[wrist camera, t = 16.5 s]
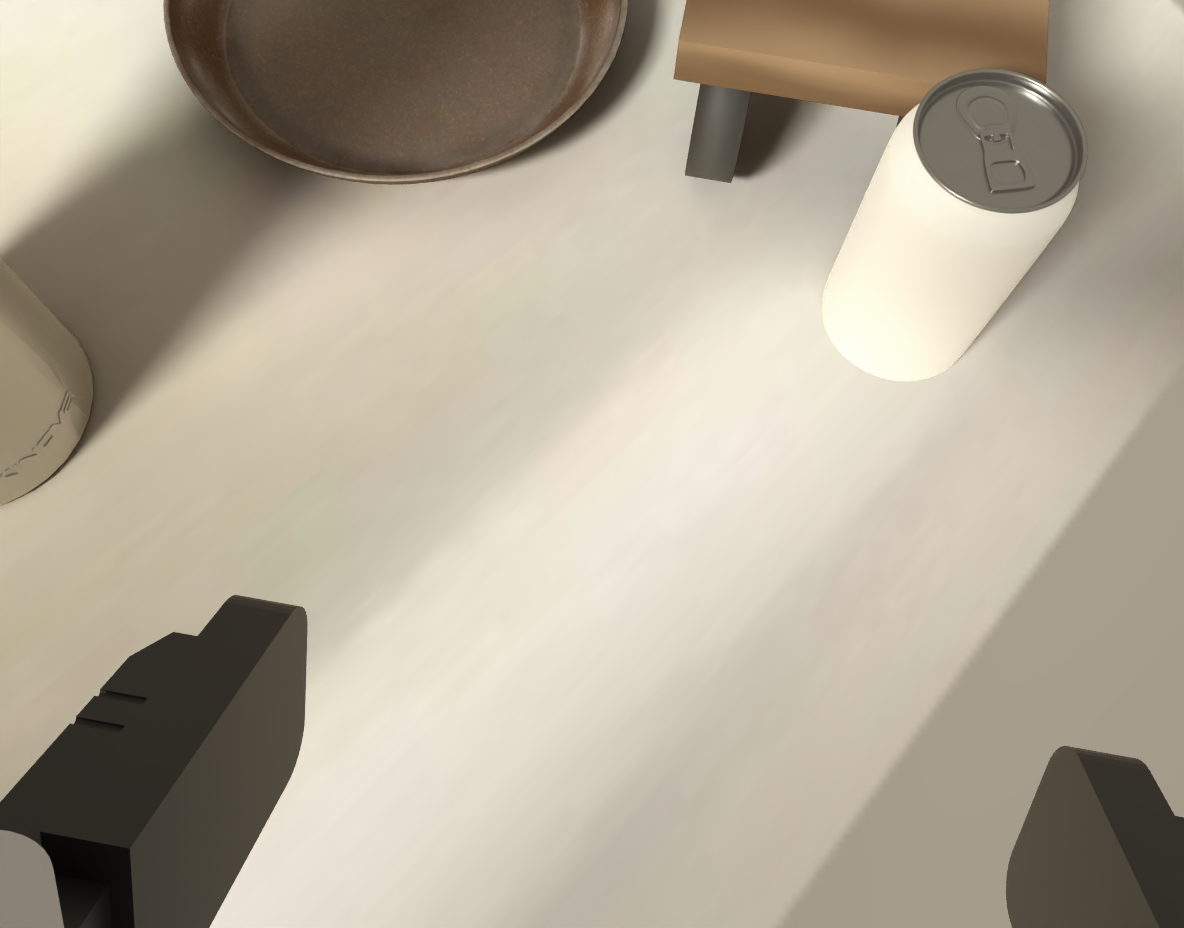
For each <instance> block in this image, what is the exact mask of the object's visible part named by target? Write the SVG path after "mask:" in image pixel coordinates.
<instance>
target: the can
mask: <svg viewBox="0 0 1184 928" xmlns="http://www.w3.org/2000/svg"><path fill="white" fill-rule="evenodd" d="M1087 155H1088V147H1087V139H1086V135H1085V132H1084V129H1083V126H1082V124H1081V122H1080V120H1079V118H1078V116H1077V115H1076V113H1075V112H1074V110H1073V109H1072V108H1071V107H1070V105H1069V104H1068V103H1067V102H1066V101H1065V100H1064V99H1063V98H1062V97H1061V96H1060V95H1059V94H1057V93H1056V92H1055V91H1054V90H1052V89H1051V88H1050V87H1048V86H1046V85H1045V84H1043V83H1041V82H1040V81H1038V80H1036V79H1033V78H1031V77H1029V76H1026V75H1023V74H1020V73H1017V72H1013V71H1008V70H1003V69H990V68H985V69H973V70H968V71H964V72H960V73H957V74H954V75H952V76H950V77H948V78H946V79H944V80H942V81H941V82H939V83H938V84H936V85H935V86H934V87H933V88H932V89H931V90H930V91H929V92H928V93H927V94H926V95H925V97H924V98H923V99H922V101H921V103H920V104H918V105H917V106H915V107H914V108H913V109H912V110H911V111H910V112H909V113H907V115H906V116H905V117H904V118H903V119H902V120H901V122H900V123H899V125H898V126H897V128H896V129H895V131H894V133H893V135H892V137H891V139H890V141H889V143H888V145H887V147H886V149H885V151H884V153H883V155H882V158H881V160H880V162H879V164H878V166H877V169H876V171H875V173H874V175H873V178H872V180H871V182H870V184H869V187H868V189H867V191H866V193H865V196H864V198H863V200H862V202H861V205H860V207H859V209H858V211H857V214H856V216H855V218H854V220H853V223H852V225H851V227H850V230H849V232H848V234H847V236H846V239H845V241H844V243H843V246H842V248H841V250H840V252H839V255H838V257H837V259H836V262H835V264H834V266H833V269H832V271H831V273H830V276H829V278H828V281H827V283H826V286H825V289H824V293H823V298H822V316H823V321H824V325H825V328H826V331H827V333H828V335H829V337H830V339H831V341H832V342H833V344H834V345H835V347H836V348H837V349H838V350H839V351H840V353H841V354H842V355H843V356H844V357H845V358H846V359H848V360H849V361H850V362H851V363H853V364H854V365H855V366H857V367H858V368H860V369H862V370H864V371H866V372H868V373H870V374H872V375H875V376H878V377H881V378H884V379H889V380H895V381H916V380H922V379H926V378H929V377H932V376H935V375H937V374H939V373H941V372H943V371H945V370H946V369H948V368H949V367H950V366H952V365H953V364H954V363H955V362H956V361H957V360H958V359H959V358H960V357H961V356H962V355H963V353H964V352H965V351H966V350H967V348H968V347H969V346H970V345H971V343H972V342H973V341H974V340H975V338H976V337H977V336H978V335H979V333H980V332H981V331H982V329H983V328H984V327H985V326H986V324H987V323H988V322H989V321H990V319H991V318H992V317H993V315H994V314H995V313H996V312H997V310H998V309H999V308H1000V306H1001V305H1002V304H1003V302H1004V301H1005V300H1006V299H1007V297H1008V296H1009V295H1010V293H1011V292H1012V291H1013V290H1014V288H1015V287H1016V286H1017V284H1018V283H1019V282H1020V280H1021V279H1022V278H1023V277H1024V275H1025V274H1026V273H1027V271H1028V270H1029V269H1030V267H1031V266H1032V265H1033V263H1034V262H1035V261H1036V260H1037V258H1038V257H1039V256H1040V254H1041V253H1042V252H1043V250H1044V249H1045V248H1046V246H1047V245H1048V244H1049V242H1050V241H1051V240H1052V238H1053V237H1054V236H1055V234H1056V233H1057V232H1058V230H1059V229H1060V228H1061V226H1062V225H1063V223H1064V222H1065V220H1066V219H1067V217H1068V215H1069V214H1070V212H1071V210H1072V208H1073V206H1074V203H1075V200H1076V197H1077V193H1078V187H1079V180H1080V179H1081V177H1082V175H1083V173H1084V170H1085V167H1086V163H1087Z"/></svg>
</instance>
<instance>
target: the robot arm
mask: <svg viewBox="0 0 1184 928" xmlns="http://www.w3.org/2000/svg"><path fill="white" fill-rule="evenodd" d="M92 400H93V381H92V373H91V369H90V366H89V363H88V360H87V356H86V354H85V353H84V351H83V349H82V348H81V346H80V345H79V343H78V341H77V340H76V338H75V337H74V336H73V335H72V334H71V333H70V332H69V331H68V330H67V329H66V327H65V326H64V325H63V324H62V323H61V322H60V321H59V320H58V319H57V318H56V317H55V316H54V315H53V314H52V313H51V312H50V311H49V309H48V308H47V307H46V306H45V305H44V304H43V303H42V302H41V301H40V300H39V299H38V298H37V297H36V296H35V295H34V294H33V292H32V291H31V290H30V289H29V288H28V287H27V285H26V284H25V283H24V282H23V281H22V280H21V279H20V278H19V277H18V276H17V275H16V274H15V273H14V272H13V271H12V269H11V268H10V267H9V266H8V265H7V264H6V263H5V262H4V261H3V260H2V259H1V258H0V505H3V504H5V503H7V502H10V501H12V500H14V499H16V498H18V497H20V496H22V495H24V494H26V493H28V492H29V491H31V490H32V489H34V488H35V487H36V486H38V485H39V484H41V483H42V482H43V481H45V480H46V479H48V478H49V477H50V476H51V475H52V474H53V473H54V472H55V471H56V470H57V469H58V468H59V467H60V466H61V465H62V464H63V463H64V462H65V461H66V459H67V458H68V456H69V455H70V454H71V452H72V451H73V449H74V448H75V446H76V445H77V443H78V442H79V440H80V438H81V436H82V434H83V431H84V429H85V426H86V424H87V422H88V419H89V416H90V410H91V405H92ZM306 657H307V615H306V612H305V609H304V608H303V607H300V606H294V605H289V604H283V603H278V602H272V601H267V600H261V599H255V598H250V597H244V596H239V595H233V596H231V597H230V598H229V599H228V600H227V601H226V602H225V603H224V604H223V605H222V607H221V608H220V609H219V610H218V612H217V613H216V614H215V615H214V617H213V618H212V619H211V620H210V621H209V623H208V624H207V625H206V626H205V628H204V629H203V630H202V631H201V633H200V634H199V635H198V636H192V635H187V634H181V633H176V632H173V633H171V634H169V635H167V636H165V637H164V638H162V639H160V640H158V641H156V642H155V643H153V644H151V645H149V646H147V647H146V648H144V649H142V650H140V651H139V652H137V653H135V654H133V655H131V656H130V657H129V658H128V659H127V660H126V661H125V662H124V663H123V664H122V666H121V667H120V668H119V669H118V670H117V671H116V672H115V673H114V675H113V676H112V677H111V678H110V679H109V680H108V681H107V682H106V684H105V685H104V686H103V687H102V688H101V689H100V694H99V696H94V697H93V698H92V699H91V701H90V702H89V703H88V704H87V705H86V706H85V707H84V708H83V710H82V711H81V712H80V713H79V714H78V715H77V716H76V721H75V723H74V724H69V725H68V726H67V728H66V729H65V730H64V731H63V732H62V733H61V734H60V735H59V737H58V738H57V739H56V740H55V741H54V742H53V743H52V745H51V746H50V747H49V748H48V749H47V750H46V751H45V752H44V754H43V755H42V756H41V757H40V758H39V759H38V760H37V761H36V763H35V764H34V765H33V766H32V767H31V768H30V769H29V770H28V772H27V773H26V774H25V775H24V776H23V777H22V778H21V779H20V781H19V782H18V783H17V784H16V785H15V786H14V787H13V789H12V790H11V791H10V792H9V793H8V794H7V795H6V796H5V798H4V799H3V800H2V801H1V802H0V928H209V927H210V925H211V923H212V921H213V920H214V918H215V916H216V914H217V912H218V910H219V908H220V907H221V905H222V903H223V901H224V899H225V897H226V896H227V894H228V892H229V890H230V888H231V886H232V885H233V883H234V881H235V879H236V877H237V875H238V874H239V872H240V870H241V868H242V866H243V864H244V863H245V861H246V859H247V857H248V855H249V853H250V851H251V850H252V848H253V846H254V844H255V842H256V840H257V839H258V837H259V835H260V833H261V831H262V829H263V828H264V826H265V824H266V822H267V820H268V818H269V817H270V815H271V813H272V811H273V809H274V807H275V806H276V804H277V802H278V800H279V798H280V796H281V794H282V793H283V791H284V789H285V787H286V785H287V783H288V781H289V779H290V777H291V775H292V773H293V770H294V767H295V764H296V761H297V758H298V755H299V751H300V747H301V742H302V737H303V731H304V721H305V690H306ZM1006 900H1007V909H1008V914H1009V918H1010V922H1011V925H1012V928H1184V818H1183V817H1178V816H1175V815H1174V814H1173V812H1172V810H1171V808H1170V806H1169V805H1168V803H1167V801H1166V799H1165V797H1164V796H1163V794H1162V792H1161V790H1160V788H1159V787H1158V785H1157V783H1156V781H1155V779H1154V778H1153V776H1152V774H1151V772H1150V770H1149V769H1148V768H1147V766H1146V765H1145V764H1144V763H1143V762H1142V761H1141V760H1139V759H1135V758H1130V757H1124V756H1118V755H1112V754H1108V753H1101V752H1096V751H1090V750H1085V749H1080V748H1074V747H1069V746H1063V747H1060V748H1058V749H1057V750H1056V751H1055V753H1054V754H1053V755H1052V757H1051V758H1050V761H1049V763H1048V765H1047V768H1046V770H1045V772H1044V775H1043V777H1042V780H1041V782H1040V785H1039V787H1038V790H1037V792H1036V795H1035V797H1034V799H1033V802H1032V804H1031V807H1030V809H1029V812H1028V814H1027V817H1026V819H1025V822H1024V824H1023V827H1022V829H1021V832H1020V834H1019V837H1018V839H1017V842H1016V844H1015V846H1014V849H1013V851H1012V854H1011V857H1010V861H1009V866H1008V871H1007V881H1006Z"/></svg>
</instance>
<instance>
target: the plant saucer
mask: <svg viewBox="0 0 1184 928" xmlns="http://www.w3.org/2000/svg"><path fill="white" fill-rule="evenodd" d="M163 7H164V21H165V29H166V34H167V38H168V42H169V46H170V49H171V52H172V55H173V57H174V60H175V62H176V64H177V67H178V69H179V71H180V72H181V74H182V76H183V78H184V79H185V81H186V83H187V84H188V86H189V87H190V89H191V90H192V92H193V93H194V95H195V96H196V97H197V98H198V100H199V101H200V102H201V103H202V104H203V106H204V107H205V108H206V109H207V110H208V111H209V112H210V113H211V114H212V115H213V116H214V117H215V118H216V119H217V120H218V121H219V122H220V123H221V124H223V125H224V126H225V127H226V128H227V129H229V130H230V131H231V132H233V133H234V134H235V135H237V136H238V137H240V138H241V139H243V140H244V141H245V142H247V143H249V144H250V145H252V146H254V147H256V148H257V149H259V150H261V151H263V152H265V153H267V154H268V155H270V156H272V157H274V158H276V159H279V160H281V161H283V162H286V163H288V164H290V165H293V166H296V167H299V168H301V169H304V170H307V171H310V172H313V173H317V174H320V175H324V176H328V177H332V178H337V179H342V180H348V181H354V182H362V183H372V184H416V183H426V182H434V181H440V180H445V179H450V178H455V177H459V176H463V175H467V174H470V173H473V172H476V171H479V170H483V169H486V168H489V167H491V166H494V165H496V164H499V163H501V162H503V161H505V160H508V159H510V158H512V157H514V156H516V155H518V154H520V153H522V152H523V151H525V150H527V149H528V148H530V147H532V146H533V145H535V144H536V143H538V142H539V141H541V140H543V139H544V138H545V137H547V136H548V135H550V134H551V133H552V132H553V131H555V130H556V129H557V128H558V127H560V126H561V125H562V124H563V123H564V122H565V121H566V120H567V119H569V118H570V117H571V116H572V115H573V114H574V113H575V112H576V111H577V110H578V109H579V108H580V107H581V106H582V105H583V104H584V102H585V101H586V100H587V99H588V98H589V97H590V96H591V94H592V93H593V92H594V91H595V89H596V88H597V86H598V85H599V84H600V82H601V81H602V79H603V78H604V76H605V75H606V73H607V71H608V69H609V68H610V66H611V64H612V62H613V60H614V58H615V55H616V53H617V50H618V48H619V45H620V43H621V39H622V35H623V32H624V28H625V24H626V18H627V7H628V0H164V4H163Z"/></svg>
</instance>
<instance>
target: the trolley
mask: <svg viewBox="0 0 1184 928" xmlns="http://www.w3.org/2000/svg"><path fill="white" fill-rule="evenodd" d="M1048 14H1049V0H687V1H686V6H685V11H684V17H683V22H682V27H681V32H680V37H679V43H678V50H677V58H676V65H675V73H674V79H676V80H682V81H688V82H695V83H701V84H700V90H699V95H698V101H697V107H696V112H695V118H694V124H693V130H692V135H691V141H690V147H689V153H688V159H687V165H686V171H685V175H687V176H693V177H699V178H705V179H711V180H717V181H723V182H729V183H731V181H732V178H733V174H734V170H735V166H736V162H737V158H738V153H739V148H740V144H741V139H742V134H743V130H744V125H745V120H746V115H747V110H748V105H749V99H750V94H751V92H756V93H762V94H768V95H775V96H781V97H787V98H793V99H799V100H805V101H812V102H818V103H824V104H830V105H836V106H842V107H848V108H855V109H861V110H867V111H873V112H879V113H885V114H892V115H898V116H899V118H898V122H897V126H898V125H899V123H900V122H901V120H902V119H903V118H904V117H905V116H906V115H907V113H909V112H910V111H911V110H912V109H913V108H914V107H915V106H917V105H918V104H920V103H921V101H922V99H923V98H924V97H925V95H926V94H927V93H928V92H929V91H930V90H931V89H932V88H933V87H934V86H935V85H936V84H938V83H939V82H941V81H942V80H944V79H946V78H948V77H950V76H952V75H954V74H957V73H960V72H964V71H968V70H973V69H985V68H990V69H1003V70H1008V71H1013V72H1017V73H1020V74H1023V75H1026V76H1029V77H1031V78H1033V79H1036V80H1038V81H1040V82H1041V83H1043V84H1045V85H1046V64H1047V39H1048ZM897 126H896V128H897Z"/></svg>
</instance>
